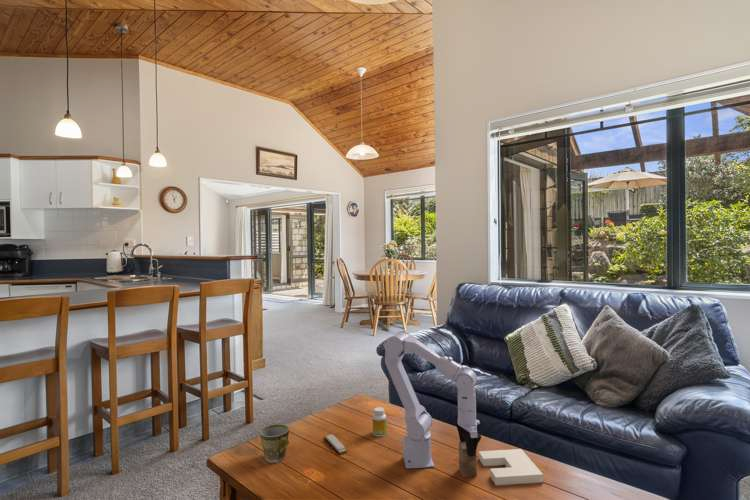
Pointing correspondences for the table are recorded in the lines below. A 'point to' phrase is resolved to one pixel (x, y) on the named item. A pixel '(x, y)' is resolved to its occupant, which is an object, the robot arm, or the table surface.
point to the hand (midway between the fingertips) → (467, 449)
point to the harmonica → (335, 444)
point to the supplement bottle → (379, 422)
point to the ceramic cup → (274, 442)
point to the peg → (466, 462)
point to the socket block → (511, 467)
